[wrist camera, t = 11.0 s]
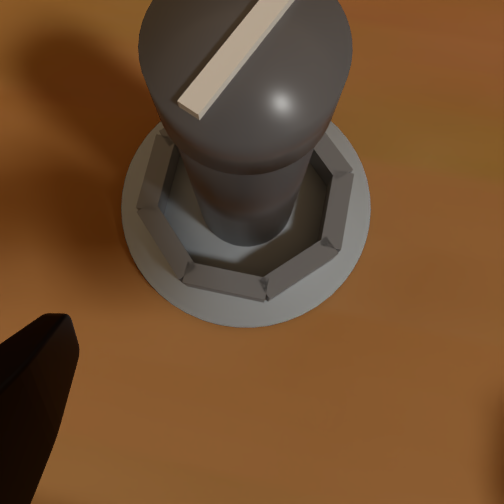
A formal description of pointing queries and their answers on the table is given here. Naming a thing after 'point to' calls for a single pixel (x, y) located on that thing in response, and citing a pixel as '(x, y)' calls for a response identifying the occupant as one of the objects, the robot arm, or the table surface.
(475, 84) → the table surface
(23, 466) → the robot arm
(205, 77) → the knob
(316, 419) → the table surface
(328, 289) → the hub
